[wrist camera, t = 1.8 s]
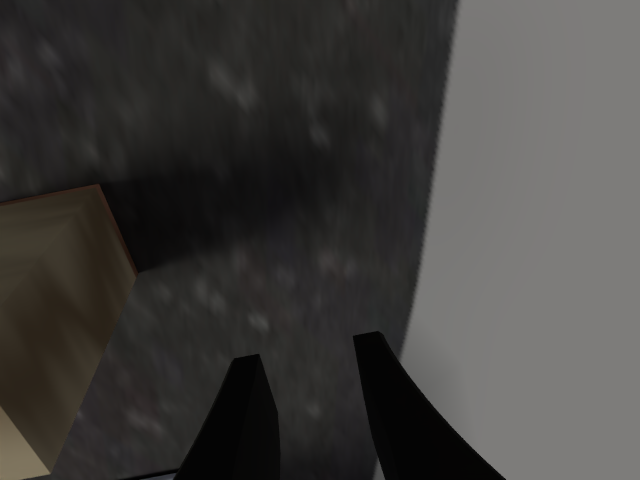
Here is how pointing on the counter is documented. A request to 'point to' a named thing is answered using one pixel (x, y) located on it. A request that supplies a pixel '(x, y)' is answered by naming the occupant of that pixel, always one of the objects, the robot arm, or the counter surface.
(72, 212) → the maple block
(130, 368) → the counter surface
